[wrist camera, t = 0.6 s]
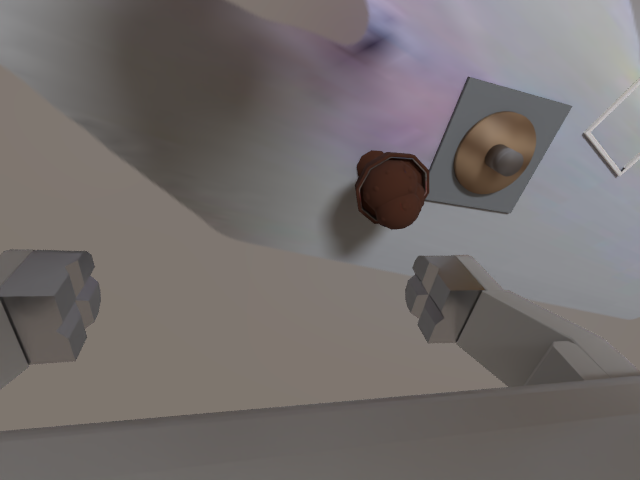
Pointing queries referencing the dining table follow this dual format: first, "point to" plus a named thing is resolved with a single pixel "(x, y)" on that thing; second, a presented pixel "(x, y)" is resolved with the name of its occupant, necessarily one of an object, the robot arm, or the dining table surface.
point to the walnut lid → (494, 152)
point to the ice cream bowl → (391, 188)
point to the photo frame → (600, 119)
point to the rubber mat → (468, 111)
